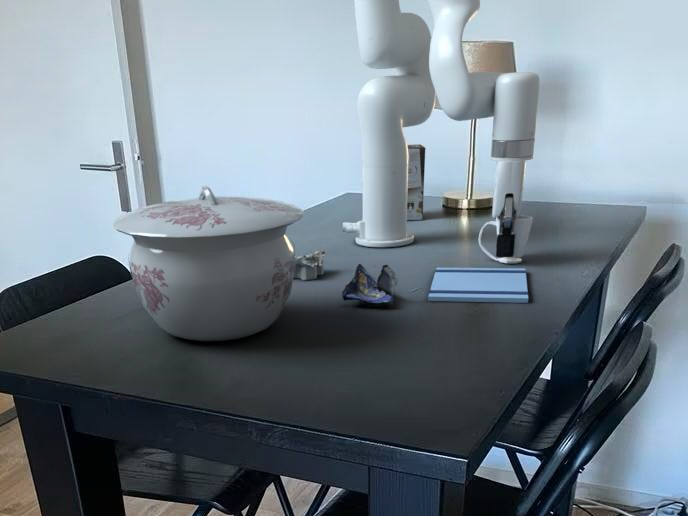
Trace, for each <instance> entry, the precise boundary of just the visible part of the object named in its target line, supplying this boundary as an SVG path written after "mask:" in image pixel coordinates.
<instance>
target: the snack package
mask: <svg viewBox="0 0 688 516" xmlns="http://www.w3.org/2000/svg"><path fill="white" fill-rule="evenodd" d="M374 267H375V268H376V265H374ZM398 282H399V281H398V278H397V275H396V272H395V271H394V270H393V268H391V267H390V266H389V265H388V264H383V265H382V266H381V270H380V273H379V275H378V277H377V278H376V277H374V276H373V275H372V274H371V273H370V272H369V271H368V270H367V269H366V268H365V267H364V266H363V265H362V264H361V263H358V264H357V266H356V268H355V273H354V276H353V277H352V279H351V280H350V281H349V282H348V284H346V285H345V286H344V289H343V290H342V292H341V295H342V299H343V301H344V302H345V301H361V302H363V303H364V304H365V307H367V308H382V307H393V306H394V299H395V298H394V295H395V293H396V292H397V289H396V288H397V287H398Z"/></svg>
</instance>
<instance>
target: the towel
mask: <svg viewBox="0 0 688 516" xmlns="http://www.w3.org/2000/svg"><path fill="white" fill-rule="evenodd" d="M527 280H528V279H527V270H526V268H525V267H523V268H519V267H517V268H516V267H515V268H514V267H436V269H435V272H434V276H433V279H432V283H431V286H430V290H429V292H428V297H427V301H428V302H449V303H450V302H451V303H452V302H455V303H456V302H457V303H459V302H461V303H511V304H515V303H516V304H517V303H518V304H528V303H529V291H528V281H527Z"/></svg>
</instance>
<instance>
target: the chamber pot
mask: <svg viewBox="0 0 688 516" xmlns="http://www.w3.org/2000/svg"><path fill="white" fill-rule="evenodd" d="M303 217H304V209H302V208H301V207H298V206H297V205H295V204H292V203H288V202H284V201H282V200H276V199H272V198H265V197H264V198H263V197H255V196H254V197H253V196H242V195H241V196H237V195H233V196H232V195H222V196H221V195H220V196H219V195H218V196H215V194H214V192H213V191H212V189H211V188H210V187H209V186H208V185H202V186H201V187H200V193H199V195H198V197H191V198H182V199H175V200H168V201H163V202H159V203H155V204H150V205H147V206H142V207H139V208H137V209H134V210H131V211H130V212H127V213H125V214H122V215H120V216H118V217H117V218H115V220H114V221H113V222H112V226H113V228H114V229H115V230H116V231H117V232H119V233H121V234H124V235H128V236H131V237H132V238H133V242H132V245H131V248H130V250H129V253H128V255H127V259H128V265H129V272H130V276H131V279H132V281H133V284H134V287H135V290H136V294H137V296H138V299H139V301H140V303H141V305H142V307H143V308H144V309H145V311H146V312H147V313H148V314H149V316H151V318H152V319H153V321H154V323H156V324H157V326H158V327H159V328H160V329H162V330H163V331H164V332H165V333H167V334H169V335H171V336H173V337H176V338H180V339H184V340H189V341H194V342H203V343H205V342H206V343H219V342H220V343H221V342H222V343H223V342H230V341H236V340H241V339H245V338H247V337H250V336H252V335H255V334H257V333H259V332H262V331H264V330H267V329H268V328H270V327H271V326H272V325H274V323H275V322H276V321H277V320H278V319H279V317H280V315H281V313H282V312H283V309H284V307H285V305H286V304H287V301H288V300H289V298H290V296H291V293H292V288H293V282H294V278H293V276H294V269H295V256H296V245H295V243H294V241H293V240H292V238H291V236H290V234H289V233H288V231H287V228H288V227H289V226H291V225H293V224H294V223H297V222H298V221H300V220H302V218H303Z"/></svg>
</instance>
